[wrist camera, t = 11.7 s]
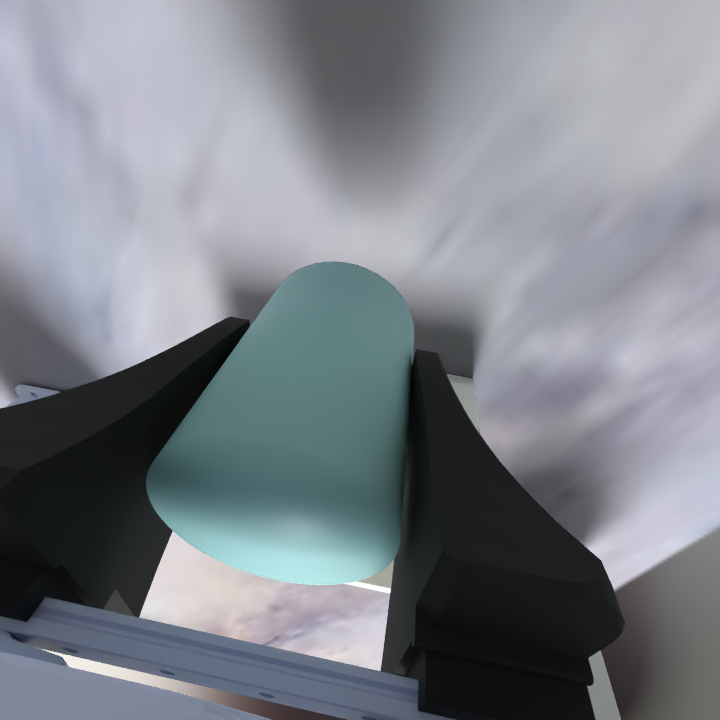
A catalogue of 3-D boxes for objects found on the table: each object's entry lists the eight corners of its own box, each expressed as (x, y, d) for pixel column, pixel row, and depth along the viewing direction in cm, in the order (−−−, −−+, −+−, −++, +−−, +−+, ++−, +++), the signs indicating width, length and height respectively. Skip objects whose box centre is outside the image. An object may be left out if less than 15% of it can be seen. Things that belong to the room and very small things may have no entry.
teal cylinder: (271, 374, 15) (174, 558, 9) (265, 249, 12) (112, 411, 6) (400, 398, 14) (380, 601, 9) (429, 276, 11) (426, 472, 6)
